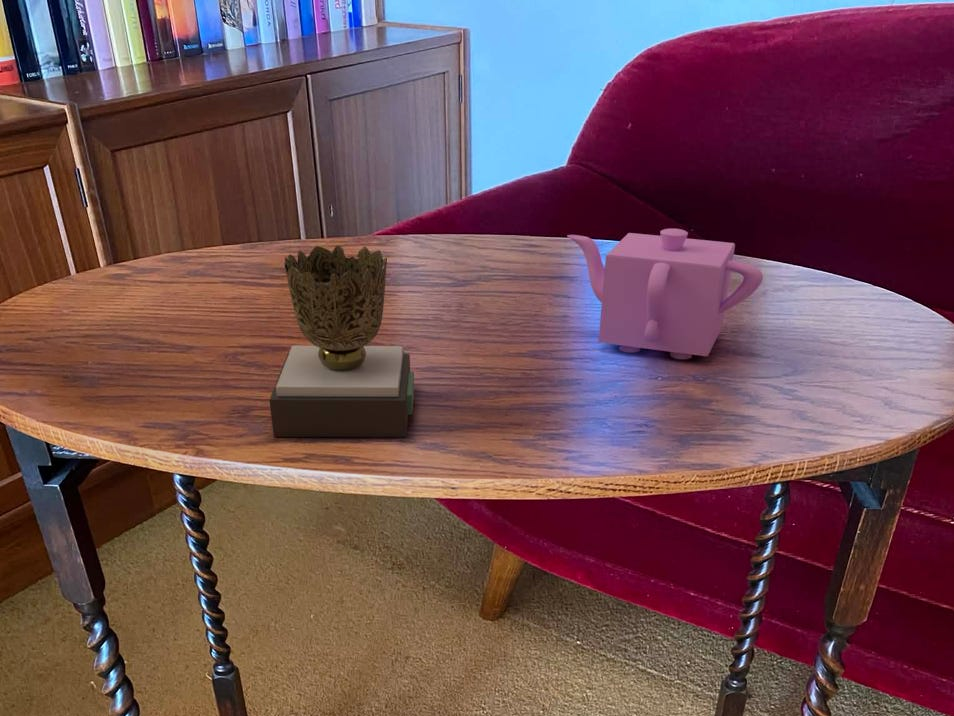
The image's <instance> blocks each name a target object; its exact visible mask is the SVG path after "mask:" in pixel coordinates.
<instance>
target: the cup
mask: <svg viewBox="0 0 954 716" xmlns="http://www.w3.org/2000/svg"><path fill="white" fill-rule="evenodd" d="M344 250H345V249H344V248H343V247H341V246H340V245H336V246H334V248H333V249H332V251H331V250H330V249H328V248H325V247H323V246H319V245H315V246H314V247H313V248H312V250H311V251H310V253H309V254H308V255H307V254H306V253H305V252H303V251H301V249H299V250H298V251H297V259H296V256H294V255H293V254H289V255H287V256H285V257H284V263H283V264H284V265H283V267H284V271H285V274H286V279H287V284H288V290H289V294H290V299H291V304H292V308H293V311H294V315H295V319H296V322H297V325H298V328H299V330H300V331H301V333H302V335H303V336H304V337H305V339H306V340H307V341H308V342H309V343H310V344H312V346H317V347H319V352H318V357H319V360H320V361H321V363H322V365H324V366H325V367H327V368H329V369H333V370H350V369H354V368H357V367H359V366H361V365H362V364H363V362H364V360H365V357H366V351H365V348H364V346H368V345H369V343H371V342H372V341H373V340H374V339H375V338H376V336H377V335H378V333H379V330H380V328H381V325H382V320H383V314H384V305H385V294H386V293H385V291H386V280H387V279H386V276H387V265H388V257H385V258H384V256H383V254H382V251H381V250H380V249H377V250H376V251H373V252H370V250H369V248H368V247H367V246H363V247H362V248H360V249H359V250H358V252H357V253H358V254H357V256H356V258H355V257H354V255H347V257H346V255H345V251H344Z"/></svg>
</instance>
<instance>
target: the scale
mask: <svg viewBox="0 0 954 716" xmlns="http://www.w3.org/2000/svg"><path fill="white" fill-rule="evenodd" d="M364 348H365V351H366V357H365V360H364V362H363V364H362V365H361V366H359V367H357V368H354V369H350V370H333V369H329V368H327V367H325V366H324V365H322V363H321V361H320V360H319V357H318V352H319V347H317V346H315V345H292V346H291V348H290V350H289V352H288V353H287V355H286V357H285V360H284V363H283V364H282V367H281V369H280V372H279V375H278V377H277V380H276V383H275V385H274V387H273V390H272V393H271V395H270V398H269V400H268V401H269V407H270V408H269V410H270V416H271V423H272V433H273V437H274V438H407V434H408V433H407V432H408V421H409V415H413V411H414V398H415V372H414V371H411V356H410V355H411V354H410V353H404V346H402V345H365V346H364Z"/></svg>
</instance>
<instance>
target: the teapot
mask: <svg viewBox="0 0 954 716" xmlns="http://www.w3.org/2000/svg"><path fill="white" fill-rule="evenodd" d="M688 235H689V232H688V231H686V230H684V229H680V228H664V229H662V230H660V235H655V234H643V233H634V232H628V233H627V234H626V235H625V236H624V237H623V238H622V239H620V241H619V242H618V243H617V244H616V245H615V246H613V248H612V249H611V250H610V251H609V252H607V254H606V255H605V259H604V260H605V263H604V264H603V261H602V257H601V253H600V250H599V247H598V246H597V244H596V243H595V241H594V240H593V239H592V238H591V237H588V236H584V235H579V234H567V235H566V236H567V238H568V239H570V240H572V241H573V242H574V243H575V244H577V245H578V246H579V247H580V249H581V250H582V253H583V255H584V258H585V261H586V265H587V269H588V270H587V271H588V272H587V273H588V279H589V282H590V286H591V289H592V292H593V294H594V295H595V297H596V299H597V300H598V301H599V302H600V303H601V308H600V319H599V329H598V330H599V332H598V341H597V342H598V343H602V344H610V345H616V346H619V350H620V351H621V352H624V353H638V352H640V351H641V349H647V350H655V351H662V352H669V356H670V357H671V358H673V359H676V360H689V359H691V358H692V357H693V356H694V355H695V356H702V357H709V355H710V353H711V351H712V349H713V346H714V344H715V343H716V341H717V339H718V337H719V334H720V332H721V331H722V328H723V322H724V318H725V312H726V311H728V310H731V309H732V308H733V307H735V306H737V305H738V304H740V303H742V302H743V301H745V300H746V299H748V298H749V297H750V296H752V295H753V294H754V293H755V292H756V291H757V290H758V288H759V287H760V286H761V284H762V282H763V279H764V275H763V272H762V271H761V269H760V268H758V267H756V266H754V265H752V264H749V263H746V262H742V261H738V260H734V255H735V248H736V244H735V243H734V242H725V241H718V240H717V241H716V240H706V239H696V238H688ZM732 272H734V273H738V274H740V275H741V276H742V277H743V279H742V282H741V284H740V285H739V286H738V287H737V288H736V289H735V290H734V292H733V293H731V295H730V296H728V292H729V286H730V281H731V280H730V279H731V273H732Z"/></svg>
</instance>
